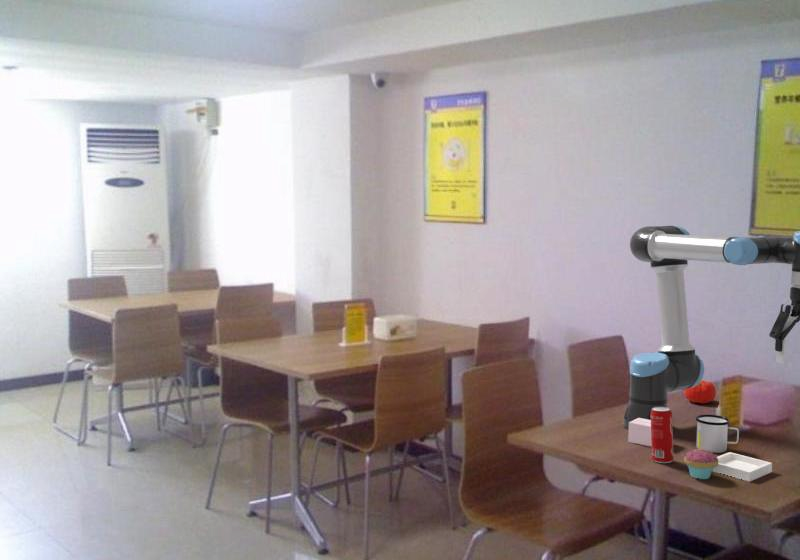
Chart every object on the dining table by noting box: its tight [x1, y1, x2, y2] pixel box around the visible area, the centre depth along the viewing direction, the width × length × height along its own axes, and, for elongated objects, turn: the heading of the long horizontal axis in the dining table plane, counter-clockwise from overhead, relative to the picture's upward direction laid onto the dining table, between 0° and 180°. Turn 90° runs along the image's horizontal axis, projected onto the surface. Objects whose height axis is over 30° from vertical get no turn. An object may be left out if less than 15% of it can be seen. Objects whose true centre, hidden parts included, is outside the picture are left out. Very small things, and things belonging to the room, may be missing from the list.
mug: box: [695, 414, 740, 454], centre depth 234 cm, size 12×10×9 cm
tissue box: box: [627, 418, 652, 448], centre depth 240 cm, size 10×7×6 cm
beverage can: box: [650, 407, 675, 464], centre depth 223 cm, size 6×6×15 cm
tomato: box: [683, 380, 717, 405], centre depth 289 cm, size 11×11×8 cm
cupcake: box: [683, 432, 718, 480], centre depth 211 cm, size 9×8×12 cm
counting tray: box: [712, 451, 773, 482], centre depth 215 cm, size 12×12×2 cm
